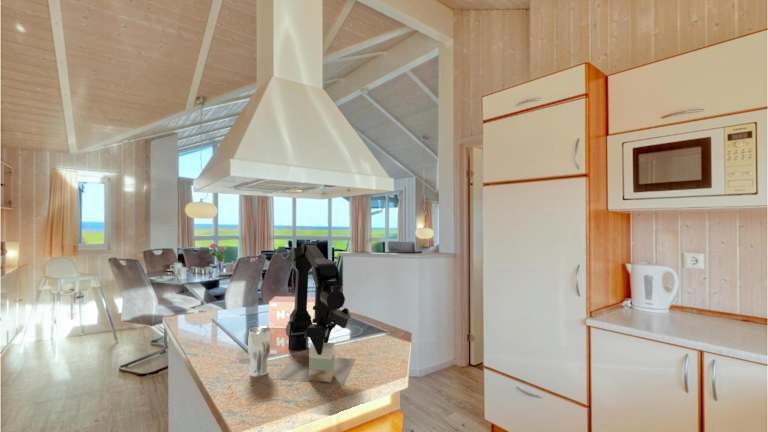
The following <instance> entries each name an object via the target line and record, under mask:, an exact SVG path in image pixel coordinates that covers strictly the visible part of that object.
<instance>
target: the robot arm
mask: <svg viewBox="0 0 768 432" xmlns="http://www.w3.org/2000/svg"><path fill="white" fill-rule="evenodd" d="M290 260H291V264H292V267H293V268H294V270H295V289H294V290H295V291H294V309H293V310H292V311H291V313H290V314H289V321H288V322H287V324H286V326H285V335H286V336H287V338H288V350H290V351H291V350H292V351H294V352H296V351H306V350H307V349H308V348H309V339H310V342H312V343H313V345H314V347H315V349H316V352H317V354H318V355H321V354H322V349H323V344H324V343H329V340H330V336H331V333H332V330H333V329H335V327H336V326H339V327H340V328H341V329H345V328H347V326H348V324H349V322H350V319H351V317H352V316H351V314H350V310H349V308H346V307H344V304H345V302H346V297H345V295H344V293H343V292H342V291H340V287H341V286H342V277H341V274H340V271H339V267H338V266H337V264H336V263H335V262H334V261H333V260H331V259H327V258H326V257H325V256H324V254H323V253H322V252H321V251H320V249H319V248H318V244H317V243H316V242H304V243H302V244H301V245H299V246H297V247H294V248H293V249H292V251H291V253H290ZM310 271H311V277H312V279H313V282H314V286H315V291H314V305H313V306H312V310H313V311H314V316H313V317H314V318H312V316H311V315H310V313H309V311H308V309H307V308H308V291H309V290H308V289H309V272H310ZM342 307H344V308H343V309H342V310H341V308H342ZM312 343H311V344H312Z"/></svg>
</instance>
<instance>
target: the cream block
mask: <svg viewBox="0 0 768 432" xmlns="http://www.w3.org/2000/svg"><path fill="white" fill-rule="evenodd" d="M335 347H336V343H335V342H334V343H333V342H328V343H324V344H323V349H322V354H321V355H318V354H317V352H316V349H315V347H314V345H313V343H311V345H309V350H308V351H309V354H308V356H309V358H317V359H330V360H331V359H332V357H333V356H334V354H335Z"/></svg>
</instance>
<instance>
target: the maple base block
mask: <svg viewBox="0 0 768 432" xmlns="http://www.w3.org/2000/svg"><path fill="white" fill-rule="evenodd" d="M333 376H334V366H333V368H332V370H331V371H324V370H312V369H309V380H314V381H325V382H331V380H332V378H333Z"/></svg>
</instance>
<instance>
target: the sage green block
mask: <svg viewBox="0 0 768 432" xmlns="http://www.w3.org/2000/svg"><path fill="white" fill-rule="evenodd" d="M334 358H336V357H335V353H334V356H333V357H332V359H331V360H330V359H317V358H309V369H312V370H324V371H331V370H332V368H333V366H334Z"/></svg>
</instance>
